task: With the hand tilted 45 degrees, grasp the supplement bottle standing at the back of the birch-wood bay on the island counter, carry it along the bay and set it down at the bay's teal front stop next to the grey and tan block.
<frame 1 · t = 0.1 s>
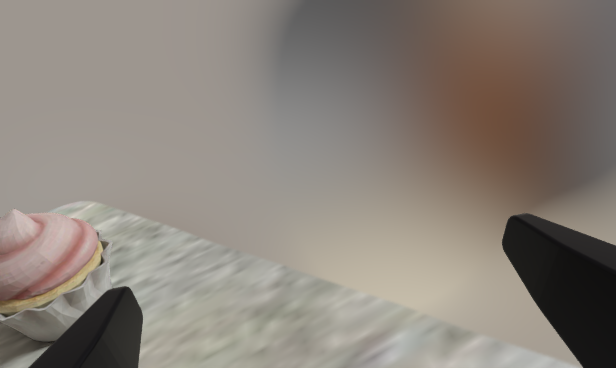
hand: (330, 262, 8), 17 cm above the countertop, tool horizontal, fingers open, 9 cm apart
cupcake: (74, 309, 29), on the countertop
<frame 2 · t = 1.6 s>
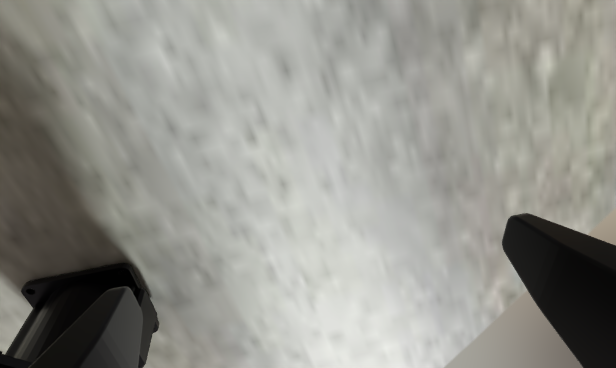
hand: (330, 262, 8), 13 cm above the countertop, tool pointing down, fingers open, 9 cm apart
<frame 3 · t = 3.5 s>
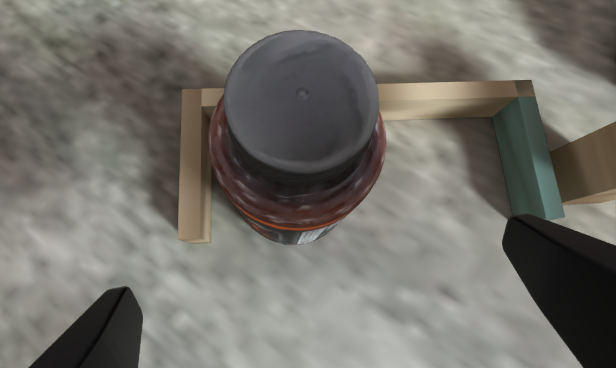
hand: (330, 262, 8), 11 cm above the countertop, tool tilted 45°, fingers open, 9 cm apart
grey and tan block: (570, 179, 21), on the countertop
bay: (363, 189, 20), on the countertop
supplement bottle: (293, 194, 20), on the countertop
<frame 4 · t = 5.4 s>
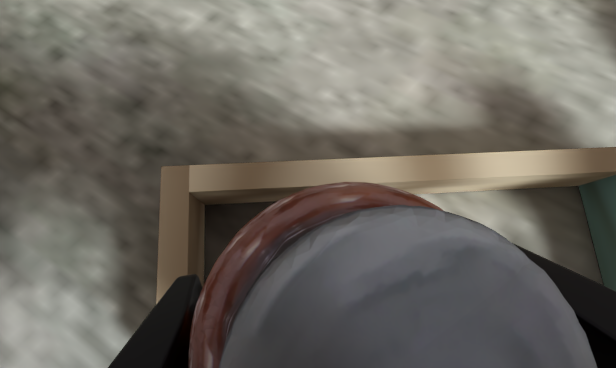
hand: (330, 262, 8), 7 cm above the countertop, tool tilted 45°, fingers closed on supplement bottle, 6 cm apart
bay: (411, 293, 15), on the countertop
supplement bottle: (316, 300, 14), on the countertop, touching gripper
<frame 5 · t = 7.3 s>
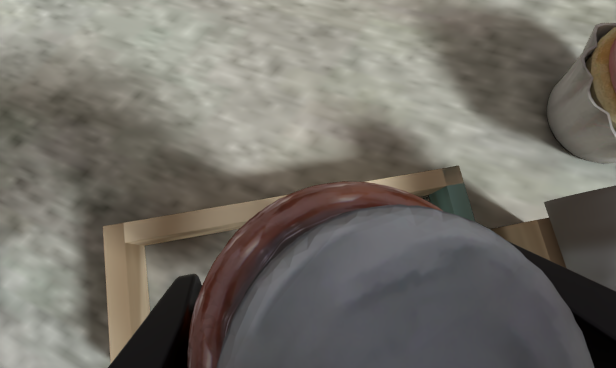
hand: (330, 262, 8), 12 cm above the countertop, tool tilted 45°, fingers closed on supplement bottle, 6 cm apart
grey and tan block: (510, 251, 21), on the countertop
bay: (305, 292, 20), on the countertop
supplement bottle: (315, 300, 15), point 5 cm above the countertop, touching gripper
cupcake: (588, 120, 24), on the countertop
when the fingers open (8 cm above the countertop, at t = 9.4 s): supplement bottle drops 1 cm, on the countertop.
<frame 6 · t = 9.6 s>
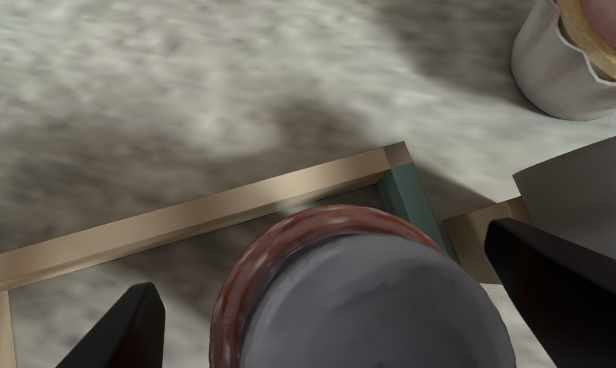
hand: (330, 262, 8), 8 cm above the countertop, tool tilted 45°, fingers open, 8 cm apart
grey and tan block: (483, 241, 17), on the countertop
bay: (226, 326, 15), on the countertop
supplement bottle: (314, 301, 16), on the countertop
cupcake: (561, 72, 20), on the countertop
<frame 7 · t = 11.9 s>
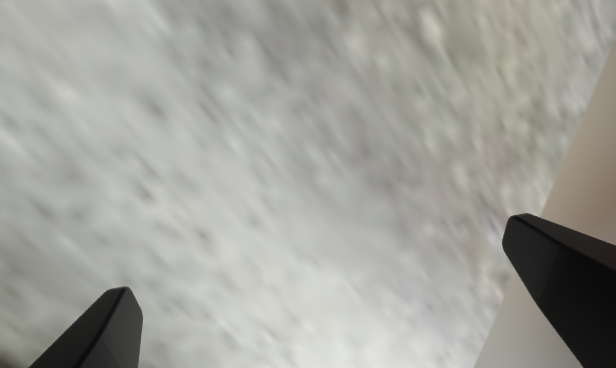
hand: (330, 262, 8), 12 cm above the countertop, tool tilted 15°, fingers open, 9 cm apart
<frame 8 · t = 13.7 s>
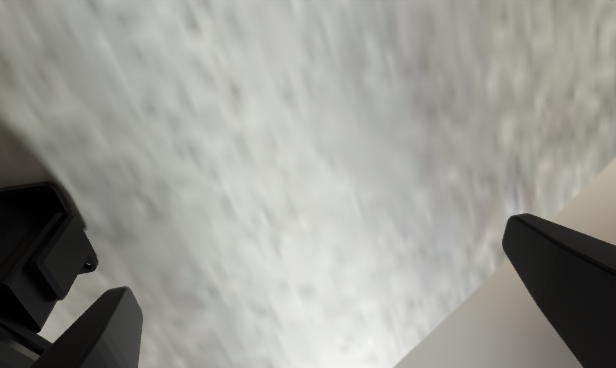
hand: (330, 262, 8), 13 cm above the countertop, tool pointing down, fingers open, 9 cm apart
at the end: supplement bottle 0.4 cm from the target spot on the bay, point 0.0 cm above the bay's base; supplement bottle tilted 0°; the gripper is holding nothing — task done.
